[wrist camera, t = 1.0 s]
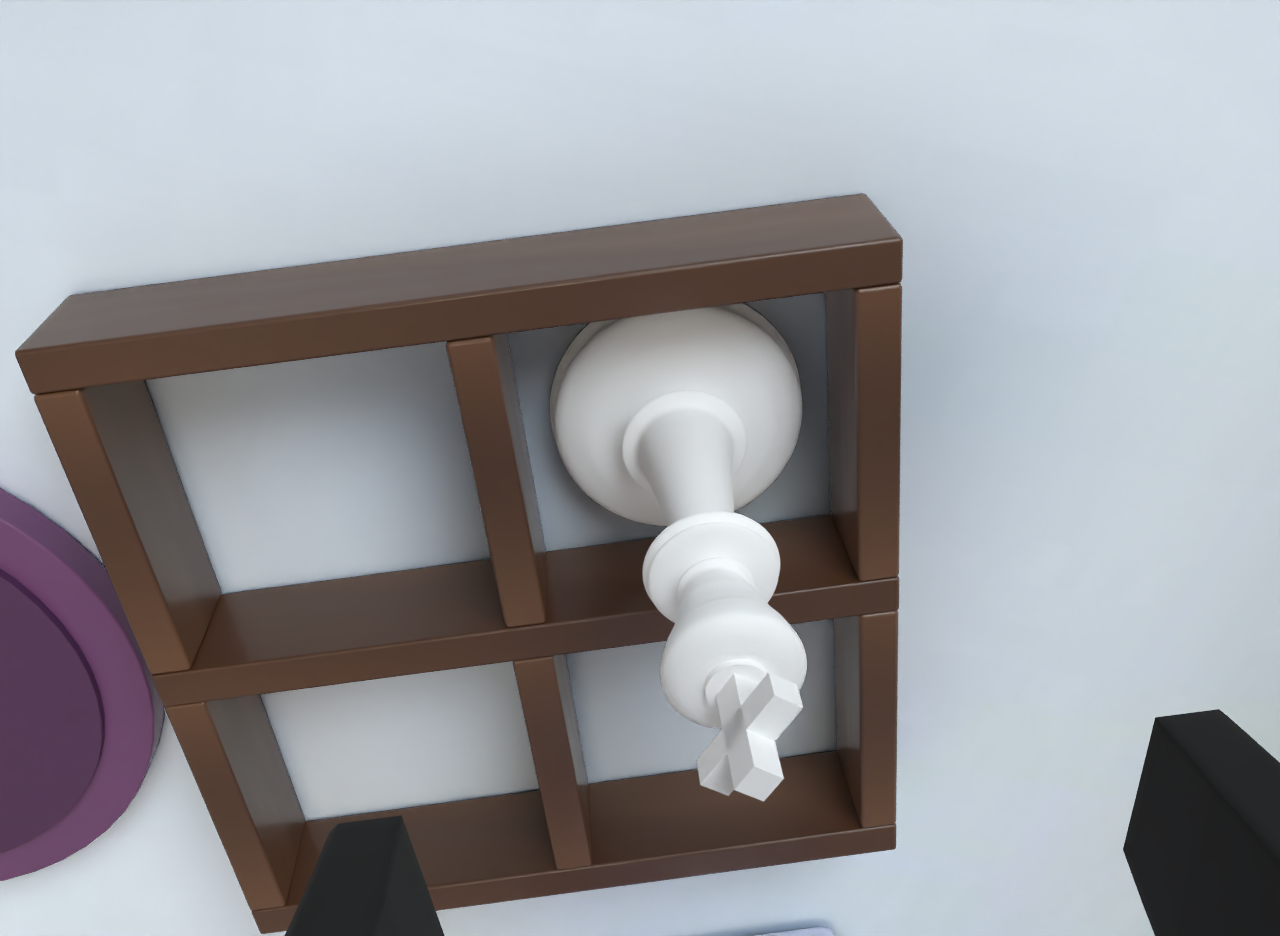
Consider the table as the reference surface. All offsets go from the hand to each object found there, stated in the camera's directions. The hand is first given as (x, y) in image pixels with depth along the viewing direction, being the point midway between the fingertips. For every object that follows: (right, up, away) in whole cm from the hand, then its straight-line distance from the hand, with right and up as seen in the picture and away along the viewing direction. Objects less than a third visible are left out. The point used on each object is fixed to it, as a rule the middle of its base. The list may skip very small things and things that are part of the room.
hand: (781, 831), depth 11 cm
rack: (-4, +1, +13) cm, 14 cm away
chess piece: (-1, +5, +11) cm, 12 cm away
